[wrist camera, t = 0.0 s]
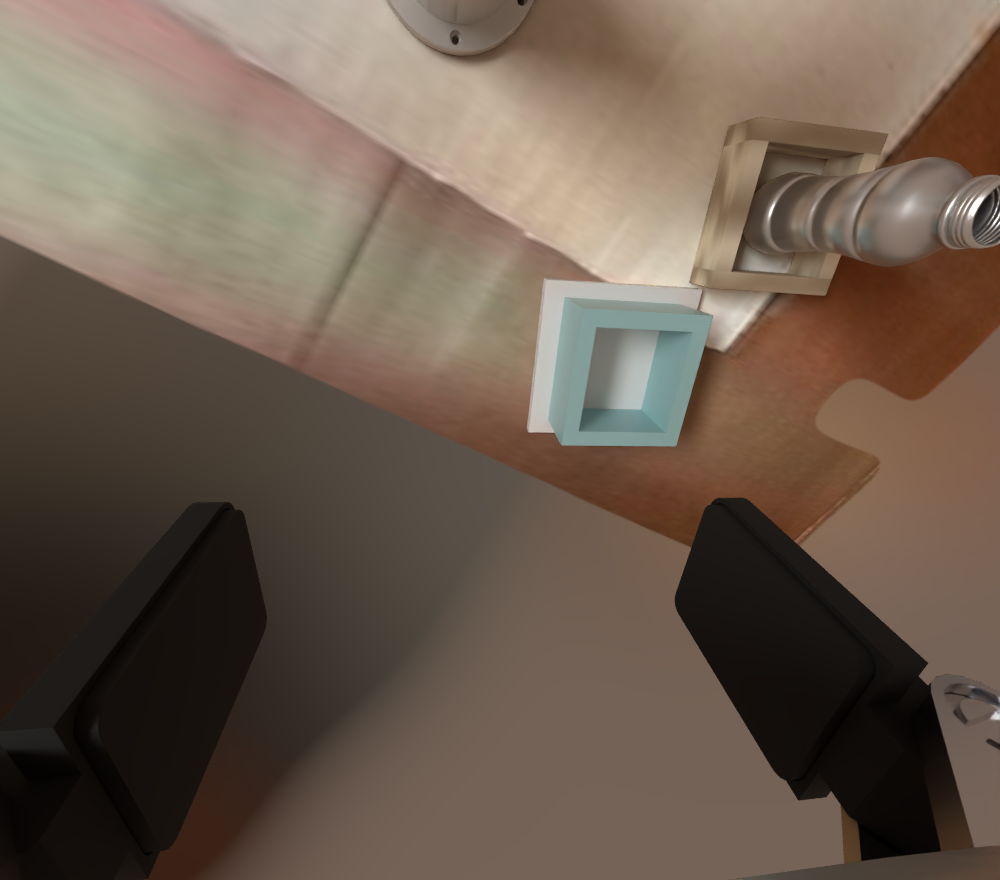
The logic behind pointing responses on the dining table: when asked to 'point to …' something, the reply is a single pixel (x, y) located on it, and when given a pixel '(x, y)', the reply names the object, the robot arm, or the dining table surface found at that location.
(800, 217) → the silver metal bottle
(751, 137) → the wooden tray
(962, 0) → the dining table surface
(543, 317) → the port housing
